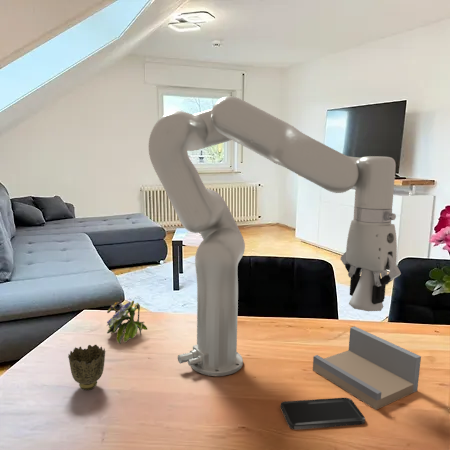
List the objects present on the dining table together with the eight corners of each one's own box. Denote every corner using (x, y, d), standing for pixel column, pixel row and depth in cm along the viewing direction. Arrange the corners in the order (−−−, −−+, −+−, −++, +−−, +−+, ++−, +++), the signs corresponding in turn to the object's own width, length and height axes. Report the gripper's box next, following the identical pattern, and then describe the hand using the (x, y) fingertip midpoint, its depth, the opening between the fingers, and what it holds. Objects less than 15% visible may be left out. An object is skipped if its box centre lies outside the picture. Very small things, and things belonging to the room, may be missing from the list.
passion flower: (114, 351, 118) (112, 309, 123) (153, 344, 118) (149, 303, 123) (101, 345, 108) (99, 299, 113) (143, 337, 108) (140, 292, 113)
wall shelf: (376, 409, 85) (379, 372, 83) (312, 370, 99) (314, 338, 98) (417, 390, 92) (421, 356, 90) (352, 356, 107) (354, 326, 105)
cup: (104, 375, 95) (103, 342, 94) (108, 392, 88) (107, 357, 87) (69, 381, 93) (67, 347, 91) (70, 399, 86) (68, 363, 84)
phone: (367, 420, 80) (290, 426, 78) (366, 426, 80) (290, 431, 78) (349, 396, 88) (279, 401, 85) (349, 401, 88) (278, 406, 86)
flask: (386, 314, 88) (389, 267, 86) (349, 311, 89) (352, 265, 88) (380, 302, 95) (384, 258, 93) (347, 299, 96) (350, 256, 95)
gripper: (420, 220, 83) (412, 307, 87) (352, 209, 98) (347, 285, 101) (396, 223, 80) (388, 314, 83) (329, 211, 94) (325, 290, 97)
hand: (366, 297), depth 92 cm, fingers closed on flask, 5 cm apart
